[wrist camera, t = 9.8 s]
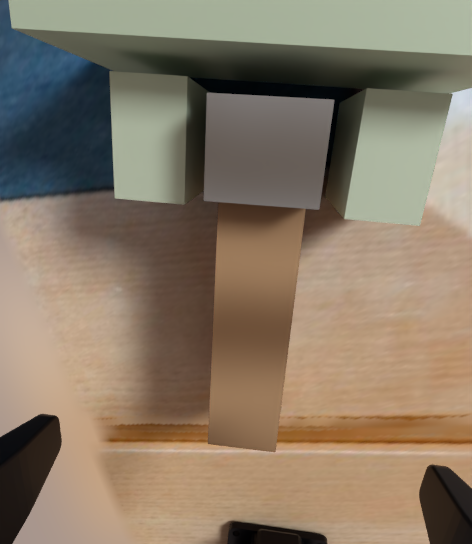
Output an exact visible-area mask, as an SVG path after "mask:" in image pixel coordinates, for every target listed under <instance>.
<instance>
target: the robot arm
mask: <svg viewBox="0 0 472 544" xmlns="http://www.w3.org/2000/svg"><path fill="white" fill-rule="evenodd" d="M61 442H62V441H61V432H60V423H59V419H58V417H57V416H55V415H48V414H40V415H38V416H36V417H34V418H33V419H31V420H30V421H27V422H26V423H24V424H22V425H20V426H19V427H17V428H15V429H14V430H12V431H10V432H9V433H7V434H5V435H3V436H2V437H0V544H12V543H13V541H14V540H15V538H16V536H17V535H18V533H19V531H20V529H21V528H22V526H23V524H24V523H25V521H26V519H27V517H28V515H29V514H30V512H31V510H32V508H33V506H34V504H35V502H36V499H37V497H38V495H39V493H40V491H41V489H42V487H43V485H44V483H45V480H46V478H47V476H48V474H49V472H50V470H51V468H52V466H53V464H54V461H55V459H56V457H57V455H58V453H59V451H60V448H61ZM419 498H420V503H421V507H422V512H423V516H424V520H425V524H426V529H427V533H428V537H429V541H430V544H472V488H471V487H470V486H468V485H467V484H466V483H465V482H464V481H463V480H462V479H461V478H460V477H459V476H458V475H457V474H455V473H454V472H453V471H452V470H451V469H450V468H448V467H446V466H439V465H429V466H428V467H427V469H426V472H425V475H424V478H423V481H422V484H421V487H420V491H419ZM228 544H327V538H326V537H325V536H324V535H321V534H314V533H307V532H300V531H294V530H287V529H280V528H273V527H266V526H259V525H253V524H246V523H239V522H234V523H231V524H230V526H229V535H228Z"/></svg>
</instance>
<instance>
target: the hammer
mask: <svg viewBox="0 0 472 544" xmlns="http://www.w3.org/2000/svg"><path fill="white" fill-rule="evenodd" d="M333 107H334V100H331V99H313V98H295V97H277V96H259V95H241V94H223V93H207V104H206V138H205V172H204V201H211V202H218V221H217V245H216V268H215V291H214V314H213V337H212V361H211V384H210V407H209V430H208V444H213V445H221V446H229V447H237V448H245V449H253V450H261V451H269V452H275V451H276V443H277V435H278V427H279V419H280V411H281V403H282V395H283V387H284V379H285V371H286V363H287V355H288V347H289V339H290V331H291V323H292V315H293V307H294V299H295V291H296V283H297V275H298V267H299V259H300V251H301V243H302V235H303V227H304V219H305V211H306V209H315V210H319V208H320V201H321V194H322V187H323V179H324V172H325V165H326V157H327V150H328V143H329V136H330V128H331V121H332V114H333Z"/></svg>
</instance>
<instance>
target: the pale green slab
mask: <svg viewBox="0 0 472 544" xmlns="http://www.w3.org/2000/svg"><path fill="white" fill-rule="evenodd" d="M9 8H10V16H11V25H12V28H13V29H15V30H18V31H20V32H22V33H25V34H27V35H29V36H32V37H34V38H37V39H39V40H41V41H44V42H46V43H48V44H51V45H53V46H56V47H58V48H60V49H63V50H65V51H67V52H70V53H72V54H75V55H77V56H79V57H82V58H84V59H86V60H89V61H91V62H94V63H96V64H98V65H101V66H103V67H106V68H108V69H110V70H113V71H109V74H110V98H111V122H112V146H113V170H114V195H115V198H116V199H127V200H138V201H149V202H160V203H172V204H183V205H185V204H186V203H187V202H189V201H190V200H191V199H193V198H194V197H195V196H197V195H198V194H199V193H201V192H202V191H204V172H205V138H206V104H207V93H210V92H209V91H207V90H206V89H204V88H203V87H202V86H200V85H199V84H197V83H196V82H195V81H193V80H192V79H190V78H189V77H192V78H207V79H222V80H237V81H252V82H267V83H282V84H297V85H312V86H327V87H342V88H357V89H365V90H363V91H361V92H359V93H357V94H355V95H353V96H352V97H350V98H348V99H346V100H344V101H342V102H341V103H340V104H339V110H338V117H337V123H336V130H335V136H334V143H333V149H332V156H331V162H330V169H329V175H328V182H327V188H326V195H325V198H326V199H327V200H328V201H329V202H330V203H331V204H332V206H333V207H334V208H335V209H336V210H337V211H338V213H339V214H340V215H341V216H342V217H343V218H344V219H350V220H361V221H372V222H383V223H394V224H405V225H417V226H420V223H421V219H422V215H423V211H424V207H425V203H426V199H427V195H428V191H429V187H430V183H431V179H432V175H433V171H434V167H435V163H436V159H437V155H438V151H439V147H440V143H441V139H442V135H443V131H444V127H445V123H446V119H447V115H448V110H449V106H450V102H451V98H452V94H449V93H453V92H457V91H461V90H465V89H469V88H472V0H9Z"/></svg>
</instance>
